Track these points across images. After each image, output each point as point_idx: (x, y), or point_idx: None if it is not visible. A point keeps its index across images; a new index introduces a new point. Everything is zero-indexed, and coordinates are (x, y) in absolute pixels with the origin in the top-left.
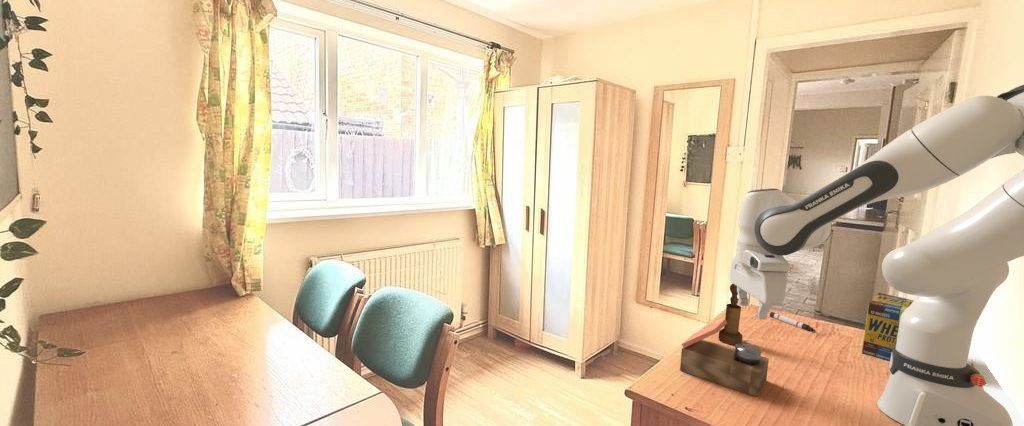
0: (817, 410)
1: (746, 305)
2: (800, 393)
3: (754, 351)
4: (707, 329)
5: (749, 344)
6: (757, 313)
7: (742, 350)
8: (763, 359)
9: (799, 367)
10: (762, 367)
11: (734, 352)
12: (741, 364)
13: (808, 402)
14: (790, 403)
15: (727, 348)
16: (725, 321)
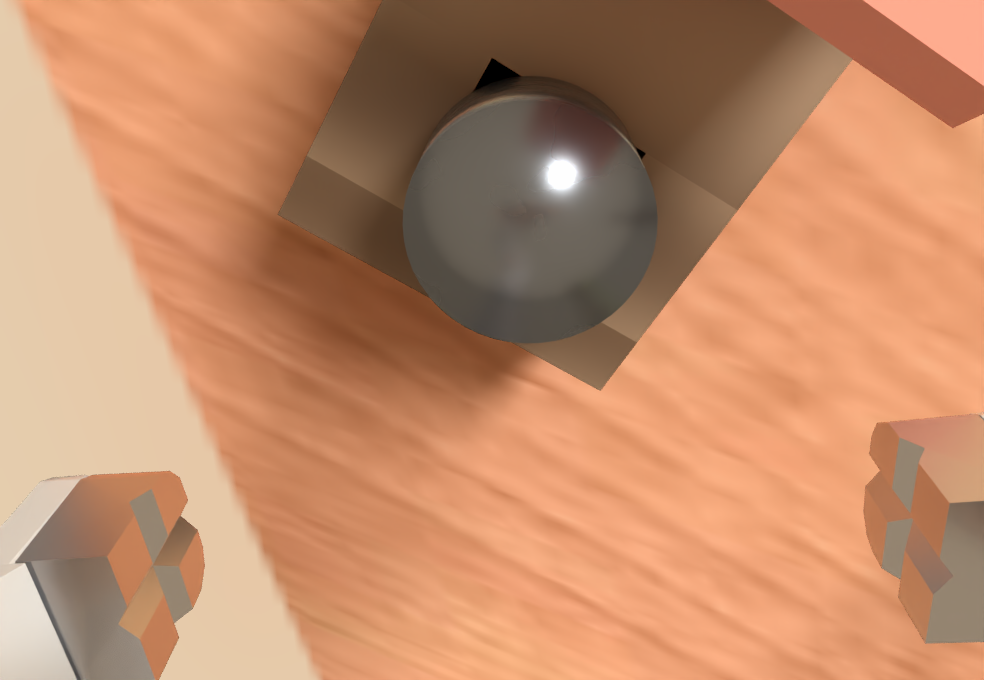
0: (282, 448)
1: (872, 515)
2: (462, 442)
3: (459, 269)
4: None
5: (637, 280)
6: (74, 515)
7: (447, 147)
8: (569, 340)
9: (819, 573)
10: (397, 275)
11: (679, 121)
12: (404, 101)
13: (361, 440)
14: (313, 338)
15: (777, 76)
16: (947, 90)
